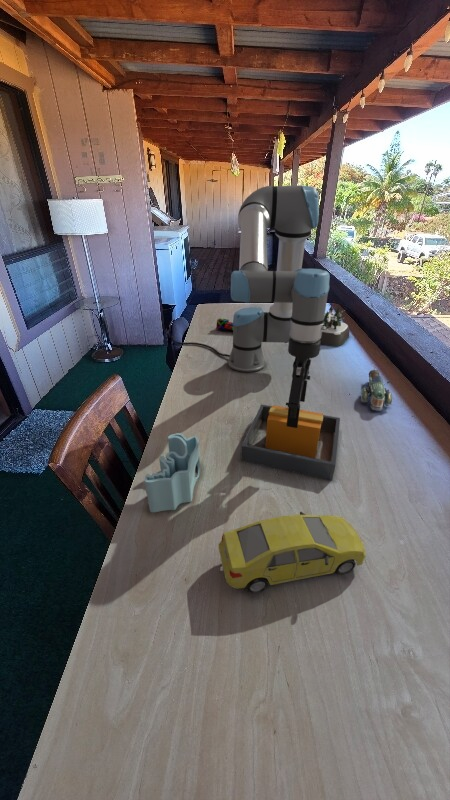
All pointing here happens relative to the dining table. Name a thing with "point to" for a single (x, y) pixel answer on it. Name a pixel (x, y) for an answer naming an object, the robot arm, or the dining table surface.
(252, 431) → the rectangular frame
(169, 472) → the squiggly pen holder
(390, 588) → the dining table surface
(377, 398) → the hoverbike
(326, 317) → the miniature diorama
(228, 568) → the toy car
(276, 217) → the robot arm
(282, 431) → the orange striped block
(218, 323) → the sculpture
